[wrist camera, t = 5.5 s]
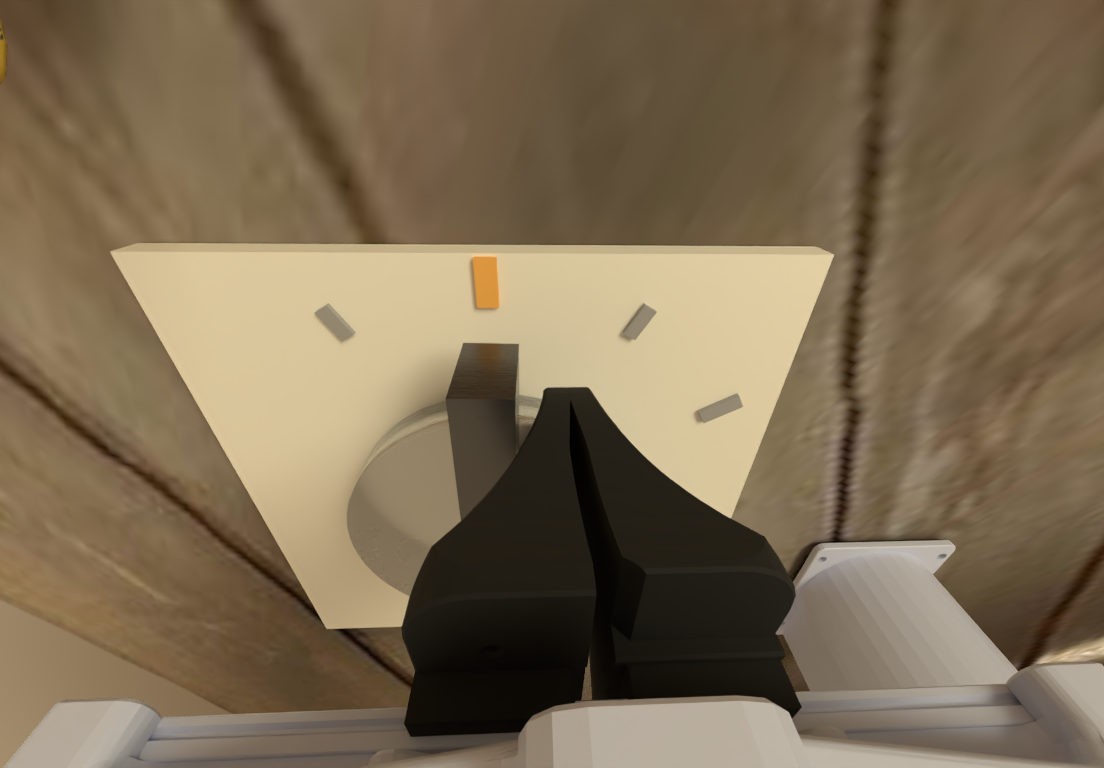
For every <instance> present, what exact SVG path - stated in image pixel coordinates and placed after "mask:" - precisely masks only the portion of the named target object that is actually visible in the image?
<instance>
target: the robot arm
mask: <svg viewBox="0 0 1104 768" xmlns="http://www.w3.org/2000/svg"><path fill="white" fill-rule="evenodd" d="M954 551H955V546H954V545H953V544H952V543H951V542H950V541H949V540H924V541H884V542H844V543H821V544H818V545H816V546H815V547H814V548H813V550H812V551H811V553H810V555H809V556H808V558H807V560H806V561H805V563H804V565H803V566H802V568H801V570H800V571H799V573H798V575H797V576H796V578H795V580H794V581H793V582H792V580H791V579H790V577H789V575H788V573H787V571H786V570H785V568H784V566H783V564H782V563H781V561H780V559H779V557H778V556H777V554H776V553H775V551H774V550H773V549H772V547H771V546H770V544H769V543H768V541H767V540H766V538H765V537H764V536H762V535H760V534H758V533H757V532H755V531H753V530H751V529H749V528H747V527H745V526H744V525H742V524H740V523H738V522H736V521H734V520H732V519H731V518H729V517H727V516H725V515H723V514H722V513H720V512H718V511H717V510H715V509H714V508H712V507H710V506H709V505H707V504H706V503H704V502H702V501H701V500H699V499H698V498H696V497H695V496H693V495H692V494H690V493H689V492H688V491H686V490H685V489H684V488H682V487H681V486H680V485H678V484H677V483H675V482H674V481H673V480H671V479H670V478H669V477H668V476H666V475H665V474H664V473H663V472H661V471H660V470H659V469H658V468H657V467H656V466H654V465H653V464H652V463H651V462H650V461H649V460H648V459H647V458H646V457H645V456H644V455H643V454H642V453H641V452H640V451H639V450H638V449H637V448H636V447H635V446H634V445H633V444H632V443H631V442H630V441H629V440H628V439H627V438H626V436H625V435H624V434H623V433H622V432H621V431H620V429H619V428H618V427H617V426H616V424H615V423H614V422H613V421H612V420H611V418H610V417H609V416H608V414H607V413H606V412H605V410H604V409H603V407H602V406H601V405H600V403H599V402H598V400H597V399H596V397H595V396H594V394H593V393H592V391H591V390H590V389H589V388H588V387H547V388H546V389H545V390H543V397H542V402H541V405H540V408H539V411H538V413H537V416H536V418H535V420H534V423H533V425H532V427H531V429H530V431H529V433H528V435H527V437H526V439H525V441H524V443H523V444H522V446H521V448H520V450H519V451H518V453H517V455H516V456H515V458H514V459H513V461H512V462H511V464H510V465H509V467H508V468H507V469H506V471H505V472H504V474H503V475H502V476H501V477H500V479H499V480H498V481H497V482H496V484H495V485H494V486H493V487H492V489H491V490H490V491H489V492H488V493H487V494H486V496H485V497H484V498H483V499H482V500H481V501H480V502H479V503H478V504H477V505H476V506H475V507H474V508H473V509H472V510H471V511H470V512H469V513H468V514H467V515H466V516H465V517H464V518H463V519H462V520H461V521H460V522H459V523H458V524H457V525H456V526H455V527H453V528H452V529H451V530H450V531H449V532H448V533H446V534H445V535H444V536H443V537H442V538H441V539H440V540H438V541H437V542H436V543H435V544H434V545H432V546H431V548H430V550H429V552H428V554H427V556H426V558H425V560H424V562H423V564H422V566H421V568H420V571H419V573H418V575H417V578H416V580H415V583H414V586H413V588H412V591H411V594H410V597H409V601H408V605H407V608H406V612H405V616H404V620H403V624H402V636H403V640H404V643H405V645H406V648H407V651H408V653H409V656H410V658H411V661H412V664H413V666H414V669H415V675H414V679H413V684H412V689H411V693H410V698H409V702H408V707H402V708H377V709H352V710H326V711H301V712H275V713H250V714H225V715H202V716H200V715H199V716H174V717H161V716H160V714H159V712H158V711H157V710H156V709H155V708H154V707H152V706H151V705H150V704H148V703H145V702H144V701H141V700H136V699H132V698H103V699H102V698H101V699H74V700H63V701H60V702H58V703H56V704H55V705H54V707H53V708H52V709H51V710H50V711H49V712H48V714H47V715H46V716H45V717H44V718H43V720H42V721H41V722H40V723H39V724H38V726H37V727H36V728H35V729H34V731H33V732H32V733H31V734H30V735H29V737H28V738H27V739H26V740H25V742H24V743H23V744H22V745H21V746H20V748H19V749H18V750H17V751H16V752H15V754H14V755H13V756H12V757H11V759H10V760H9V761H8V763H7V764H6V765H5V766H4V767H3V768H1104V666H1103V665H1102V664H1100V663H1097V662H1093V661H1087V662H1060V663H1043V664H1036V665H1033V666H1029V667H1026V668H1024V669H1022V670H1020V671H1017V670H1016V669H1015V667H1014V666H1013V665H1012V664H1011V663H1010V662H1009V661H1008V660H1007V658H1006V657H1005V656H1004V655H1003V654H1002V653H1001V652H1000V650H999V649H998V648H997V647H996V646H995V645H994V644H993V642H992V641H991V640H990V639H989V638H988V637H987V636H986V635H985V633H984V632H983V631H982V630H981V629H980V628H979V627H978V625H977V624H976V623H975V622H974V621H973V620H972V619H971V617H970V616H969V615H968V614H967V613H966V612H965V611H964V610H963V608H962V607H961V606H960V605H959V604H958V603H957V602H956V600H955V599H954V598H953V597H952V596H951V595H950V594H949V592H948V591H947V590H946V589H945V588H944V587H943V586H942V585H941V583H940V582H939V581H938V580H937V579H936V578H935V577H934V575H933V574H934V573H935V571H936V570H937V569H938V568H939V567H940V566H941V565H942V564H943V563H944V562H945V561H946V559H947V558H948V557H949V556H950V555H951V554H952V553H953V552H954ZM779 634H783V636H784V638H785V640H786V642H787V644H788V646H789V648H790V650H791V652H792V654H793V656H794V658H795V660H796V662H797V665H798V667H799V669H800V671H801V673H802V675H803V677H804V679H805V681H806V683H807V685H808V687H809V689H810V691H809V692H795V691H794V689H793V687H792V684H791V682H790V680H789V678H788V676H787V673H786V671H785V669H784V667H783V665H782V663H781V660H783V658H784V657H785V654H784V650H783V647H782V645H781V643H780V641H779V639H778V637H777V635H779ZM589 656H590V671H591V687H592V700H581V698H582V690H583V682H584V674H585V667H587V664H588V657H589Z"/></svg>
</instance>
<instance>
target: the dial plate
mask: <svg viewBox="0 0 1104 768" xmlns="http://www.w3.org/2000/svg"><path fill="white" fill-rule="evenodd" d="M110 253H111V255H112V256H113V258H114V260H115V262H116V263H117V265H118V267H119V268H120V270H121V272H122V274H123V275H124V277H125V279H126V281H127V282H128V284H129V286H130V288H131V289H132V291H133V293H134V295H135V296H136V298H137V300H138V302H139V303H140V305H141V307H142V309H143V310H144V312H145V314H146V315H147V317H148V319H149V321H150V322H151V324H152V326H153V328H154V329H155V331H156V333H157V335H158V336H159V338H160V340H161V342H162V343H163V345H164V347H165V349H166V350H167V352H168V354H169V355H170V357H171V359H172V361H173V362H174V364H175V366H176V368H177V369H178V371H179V373H180V375H181V376H182V378H183V380H184V382H185V383H186V385H187V387H188V389H189V390H190V392H191V394H192V395H193V397H194V399H195V401H196V402H197V404H198V406H199V408H200V409H201V411H202V413H203V415H204V416H205V418H206V420H207V422H208V423H209V425H210V427H211V429H212V430H213V432H214V434H215V435H216V437H217V439H218V441H219V442H220V444H221V446H222V448H223V449H224V451H225V453H226V455H227V456H228V458H229V460H230V462H231V463H232V465H233V467H234V469H235V470H236V472H237V474H238V475H239V477H240V479H241V481H242V482H243V484H244V486H245V488H246V489H247V491H248V493H249V495H250V496H251V498H252V500H253V502H254V503H255V505H256V507H257V509H258V510H259V512H260V514H261V515H262V517H263V519H264V521H265V522H266V524H267V526H268V528H269V529H270V531H271V533H272V535H273V536H274V538H275V540H276V542H277V543H278V545H279V547H280V549H281V550H282V552H283V554H284V555H285V557H286V559H287V561H288V562H289V564H290V566H291V568H292V569H293V571H294V573H295V575H296V576H297V578H298V580H299V582H300V583H301V585H302V587H303V589H304V590H305V592H306V594H307V596H308V597H309V599H310V601H311V602H312V604H313V606H314V608H315V609H316V611H317V613H318V615H319V616H320V618H321V620H322V622H323V623H324V625H325V627H326V629H339V628H370V627H401V626H402V624H403V620H404V616H405V612H406V608H407V605H408V601H409V597H410V596H408V595H406V594H404V593H402V592H400V591H398V590H396V589H395V588H393V587H392V586H390V585H389V584H387V583H386V582H384V581H383V580H382V579H380V578H379V577H378V576H377V575H376V574H374V573H373V572H372V571H371V570H370V569H369V568H368V566H367V565H366V564H365V563H364V562H363V561H362V559H361V558H360V556H359V555H358V554H357V552H356V550H355V548H354V546H353V544H352V542H351V540H350V536H349V532H348V528H347V509H348V503H349V499H350V497H351V494H352V492H353V489H354V487H355V485H356V483H357V481H358V479H359V477H360V475H361V473H362V471H363V469H364V467H365V465H366V463H367V460H368V458H369V456H370V454H371V453H372V451H373V450H374V448H375V446H376V445H377V443H378V442H379V441H380V440H381V438H382V437H383V436H384V435H385V434H386V433H387V432H388V431H389V430H390V429H391V428H393V427H394V426H395V425H396V424H398V423H399V422H400V421H402V420H403V419H405V418H406V417H408V416H410V415H412V414H413V413H415V412H417V411H419V410H421V409H423V408H426V407H428V406H431V405H433V404H436V403H439V402H442V401H446V396H447V393H448V390H449V386H450V383H451V380H452V377H453V374H454V371H455V368H456V364H457V361H458V358H459V355H460V352H461V349H462V345H463V343H499V344H519V395H523V396H529V397H534V398H540V399H542V397H543V390H545V389H546V388H547V387H588V388H589V389H590V390H591V391H592V393H593V394H594V396H595V397H596V399H597V400H598V402H599V403H600V405H601V406H602V407H603V409H604V410H605V412H606V413H607V414H608V416H609V417H610V418H611V420H612V421H613V422H614V423H615V424H616V426H617V427H618V428H619V429H620V431H621V432H622V433H623V434H624V435H625V436H626V438H627V439H628V440H629V441H630V442H631V443H632V444H633V445H634V446H635V447H636V448H637V449H638V450H639V451H640V452H641V453H642V454H643V455H644V456H645V457H646V458H647V459H648V460H649V461H650V462H651V463H652V464H653V465H654V466H656V467H657V468H658V469H659V470H660V471H661V472H663V473H664V474H665V475H666V476H668V477H669V478H670V479H671V480H673V481H674V482H675V483H677V484H678V485H680V486H681V487H682V488H684V489H685V490H686V491H688V492H689V493H690V494H692V495H693V496H695V497H696V498H698V499H699V500H701V501H702V502H704V503H706V504H707V505H709V506H710V507H712V508H714V509H715V510H717V511H718V512H720V513H722V514H723V515H725V516H727V517H729V518H731V517H732V514H733V512H734V509H735V507H736V504H737V501H738V499H739V496H740V494H741V491H742V489H743V486H744V484H745V481H746V479H747V476H748V473H749V471H750V468H751V466H752V463H753V461H754V458H755V456H756V453H757V450H758V448H759V445H760V443H761V440H762V438H763V435H764V433H765V430H766V427H767V425H768V422H769V420H770V417H771V415H772V412H773V410H774V407H775V405H776V402H777V399H778V397H779V394H780V392H781V389H782V387H783V384H784V382H785V379H786V376H787V374H788V371H789V369H790V366H791V364H792V361H793V359H794V356H795V353H796V351H797V348H798V346H799V343H800V341H801V338H802V336H803V333H804V331H805V328H806V325H807V323H808V320H809V318H810V315H811V313H812V310H813V308H814V305H815V302H816V300H817V297H818V295H819V292H820V290H821V287H822V285H823V282H824V279H825V277H826V274H827V272H828V269H829V267H830V264H831V262H832V259H833V257H834V254H831V253H829V252H827V251H825V250H822V249H820V248H818V247H815V246H620V245H426V244H231V243H136V244H133V245H130V246H126V247H123V248H120V249H117V250H113V251H110Z"/></svg>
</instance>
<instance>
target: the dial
mask: <svg viewBox="0 0 1104 768" xmlns="http://www.w3.org/2000/svg"><path fill="white" fill-rule="evenodd" d="M541 402H542V399H540V398H534V397H529V396H523V395H519V344H499V343H463V345H462V349H461V352H460V355H459V358H458V361H457V364H456V368H455V371H454V374H453V377H452V380H451V383H450V386H449V390H448V393H447V396H446V401H442V402H439V403H436V404H433V405H431V406H428V407H426V408H423V409H421V410H419V411H417V412H415V413H413V414H412V415H410V416H408V417H406V418H405V419H403V420H402V421H400V422H399V423H398V424H396V425H395V426H394V427H393V428H391V429H390V430H389V431H388V432H387V433H386V434H385V435H384V436H383V437H382V438H381V440H380V441H379V442H378V443H377V445H376V446H375V448H374V450H373V451H372V453H371V454H370V456H369V458H368V460H367V463H366V465H365V467H364V469H363V471H362V473H361V475H360V477H359V479H358V481H357V483H356V485H355V487H354V489H353V492H352V494H351V497H350V499H349V503H348V509H347V528H348V532H349V536H350V540H351V542H352V544H353V546H354V548H355V550H356V552H357V554H358V555H359V556H360V558H361V559H362V561H363V562H364V563H365V564H366V565H367V566H368V568H369V569H370V570H371V571H372V572H373V573H374V574H376V575H377V576H378V577H379V578H380V579H382V580H383V581H384V582H386V583H387V584H389V585H390V586H392V587H393V588H395V589H396V590H398V591H400V592H402V593H404V594H406V595H408V596H410V594H411V591H412V588H413V586H414V583H415V580H416V578H417V575H418V573H419V571H420V568H421V566H422V564H423V562H424V560H425V558H426V556H427V554H428V552H429V550H430V548H431V546H432V545H434V544H435V543H436V542H437V541H438V540H440V539H441V538H442V537H443V536H444V535H445V534H446V533H448V532H449V531H450V530H451V529H452V528H453V527H455V526H456V525H457V524H458V523H459V522H460V521H461V520H462V519H463V518H464V517H465V516H466V515H467V514H468V513H469V512H470V511H471V510H472V509H473V508H474V507H475V506H476V505H477V504H478V503H479V502H480V501H481V500H482V499H483V498H484V497H485V496H486V494H487V493H488V492H489V491H490V490H491V489H492V487H493V486H494V485H495V484H496V482H497V481H498V480H499V479H500V477H501V476H502V475H503V474H504V472H505V471H506V469H507V468H508V467H509V465H510V464H511V462H512V461H513V459H514V458H515V456H516V455H517V453H518V451H519V450H520V448H521V446H522V444H523V443H524V441H525V439H526V437H527V435H528V433H529V431H530V429H531V427H532V425H533V423H534V420H535V418H536V416H537V413H538V411H539V408H540V405H541Z"/></svg>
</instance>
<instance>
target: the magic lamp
mask: <svg viewBox="0 0 1104 768" xmlns="http://www.w3.org/2000/svg"><path fill="white" fill-rule="evenodd" d="M6 62H7V42H6V38H5V34H4V30H3V26H2V22H1V19H0V83H1V82H2V81H3V80H4V79H5V76H6Z"/></svg>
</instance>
